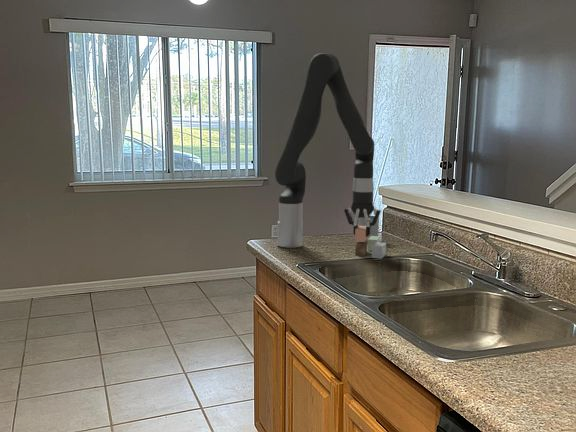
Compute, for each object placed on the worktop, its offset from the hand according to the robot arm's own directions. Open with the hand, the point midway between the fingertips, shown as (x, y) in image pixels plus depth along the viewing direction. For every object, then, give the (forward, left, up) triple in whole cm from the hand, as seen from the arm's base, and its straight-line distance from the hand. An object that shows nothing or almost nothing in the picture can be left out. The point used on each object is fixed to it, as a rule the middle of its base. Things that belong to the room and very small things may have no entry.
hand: (361, 235), depth 207 cm
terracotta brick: (0, 0, -1) cm, 1 cm away
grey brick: (+7, -2, -7) cm, 10 cm away
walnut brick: (0, 0, -7) cm, 7 cm away
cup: (-2, +23, -7) cm, 24 cm away
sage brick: (+3, +9, -7) cm, 12 cm away
